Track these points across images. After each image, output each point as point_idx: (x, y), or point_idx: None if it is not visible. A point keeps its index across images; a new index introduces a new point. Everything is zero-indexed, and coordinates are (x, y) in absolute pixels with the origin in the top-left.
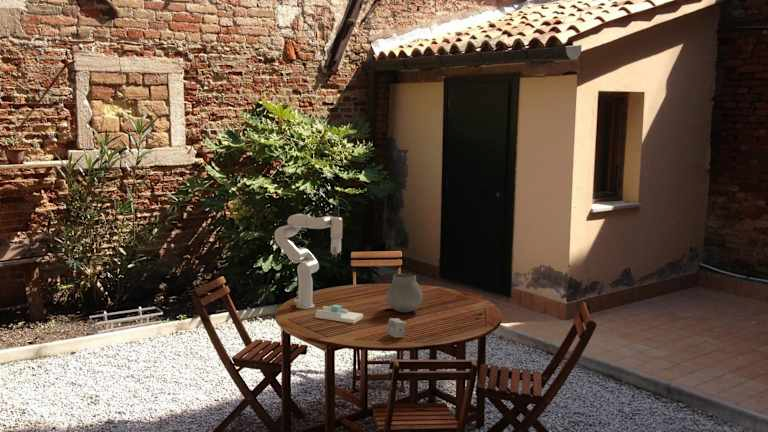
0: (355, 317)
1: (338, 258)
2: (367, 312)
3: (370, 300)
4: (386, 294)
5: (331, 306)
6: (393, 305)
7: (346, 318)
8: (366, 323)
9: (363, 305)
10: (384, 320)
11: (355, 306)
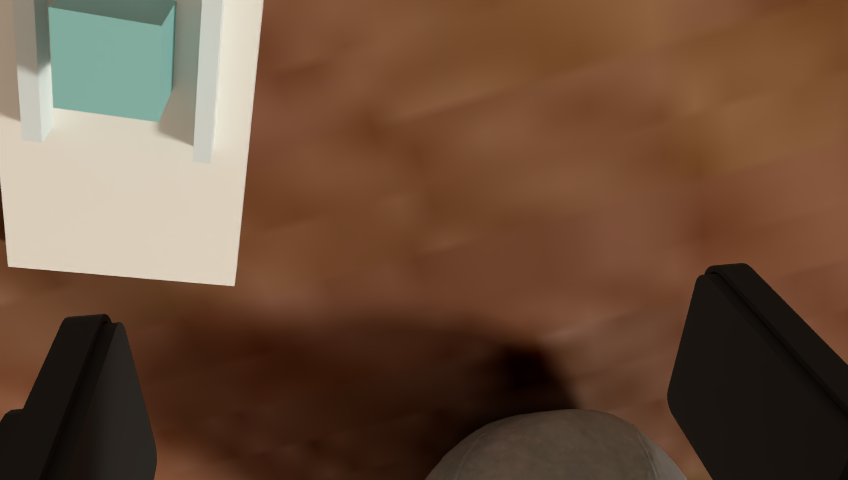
0: (85, 259)
1: (705, 379)
2: (407, 254)
3: (792, 175)
4: (537, 466)
5: (48, 8)
6: (430, 475)
7: (2, 194)
8: None
9: (623, 163)
10: (233, 415)
11: (579, 102)
